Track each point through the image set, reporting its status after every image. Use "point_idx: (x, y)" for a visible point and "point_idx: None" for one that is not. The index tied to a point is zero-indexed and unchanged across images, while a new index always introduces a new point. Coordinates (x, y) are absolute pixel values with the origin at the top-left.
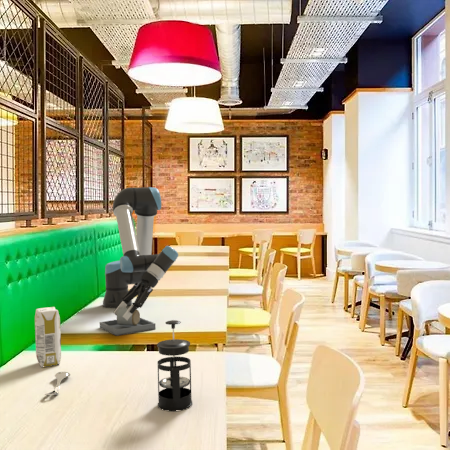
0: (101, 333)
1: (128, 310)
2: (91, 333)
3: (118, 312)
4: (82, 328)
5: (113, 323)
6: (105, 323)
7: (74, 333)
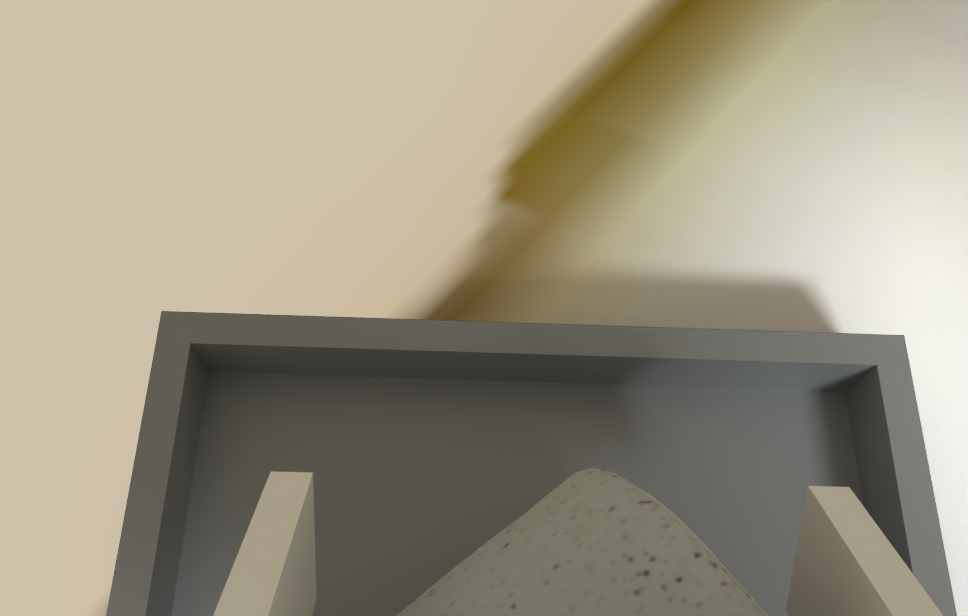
0: (495, 254)
1: (221, 603)
2: (589, 158)
3: (593, 491)
4: (961, 177)
5: None
6: (874, 436)
7: (727, 16)
